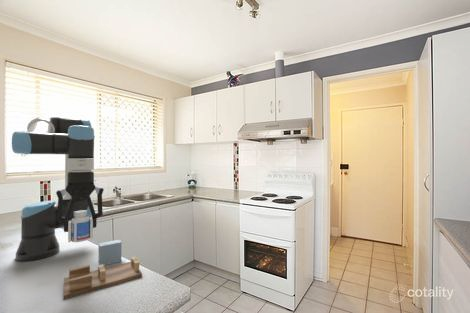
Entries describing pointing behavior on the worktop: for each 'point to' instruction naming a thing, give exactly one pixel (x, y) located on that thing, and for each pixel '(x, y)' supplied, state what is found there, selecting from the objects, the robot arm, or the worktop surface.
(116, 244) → the block
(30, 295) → the worktop surface
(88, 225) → the pill bottle
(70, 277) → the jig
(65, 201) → the robot arm
